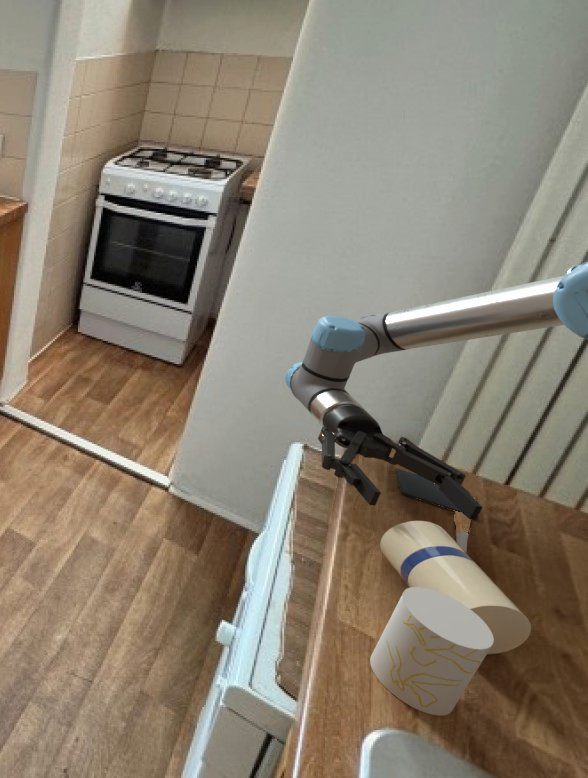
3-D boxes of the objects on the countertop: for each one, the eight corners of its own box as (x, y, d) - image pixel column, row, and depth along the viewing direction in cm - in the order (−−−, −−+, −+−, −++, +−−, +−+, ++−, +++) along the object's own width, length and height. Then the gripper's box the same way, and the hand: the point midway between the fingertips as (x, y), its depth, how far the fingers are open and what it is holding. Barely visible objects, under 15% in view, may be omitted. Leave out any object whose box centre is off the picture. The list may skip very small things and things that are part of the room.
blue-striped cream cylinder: (525, 655, 80) (536, 606, 77) (444, 653, 82) (451, 605, 79) (446, 565, 93) (452, 520, 90) (377, 564, 95) (382, 520, 92)
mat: (467, 493, 109) (468, 490, 109) (477, 519, 103) (478, 517, 103) (395, 469, 114) (396, 467, 114) (401, 493, 109) (402, 491, 108)
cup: (366, 680, 78) (399, 615, 73) (373, 638, 83) (405, 575, 79) (452, 730, 72) (494, 664, 68) (454, 682, 78) (493, 617, 73)
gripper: (413, 446, 111) (508, 538, 92) (266, 427, 116) (327, 511, 96) (429, 413, 109) (530, 500, 89) (277, 395, 113) (342, 474, 93)
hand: (425, 506), depth 93 cm, fingers open, 13 cm apart
